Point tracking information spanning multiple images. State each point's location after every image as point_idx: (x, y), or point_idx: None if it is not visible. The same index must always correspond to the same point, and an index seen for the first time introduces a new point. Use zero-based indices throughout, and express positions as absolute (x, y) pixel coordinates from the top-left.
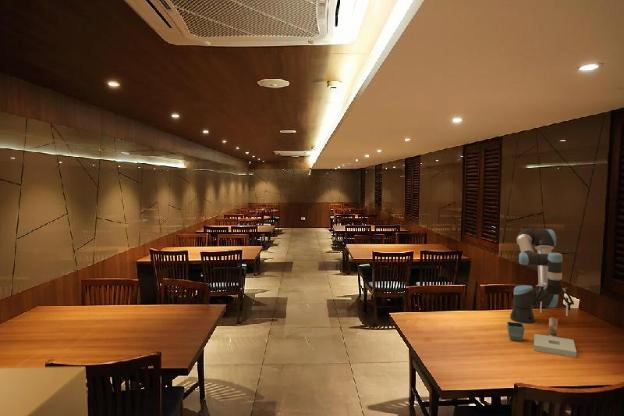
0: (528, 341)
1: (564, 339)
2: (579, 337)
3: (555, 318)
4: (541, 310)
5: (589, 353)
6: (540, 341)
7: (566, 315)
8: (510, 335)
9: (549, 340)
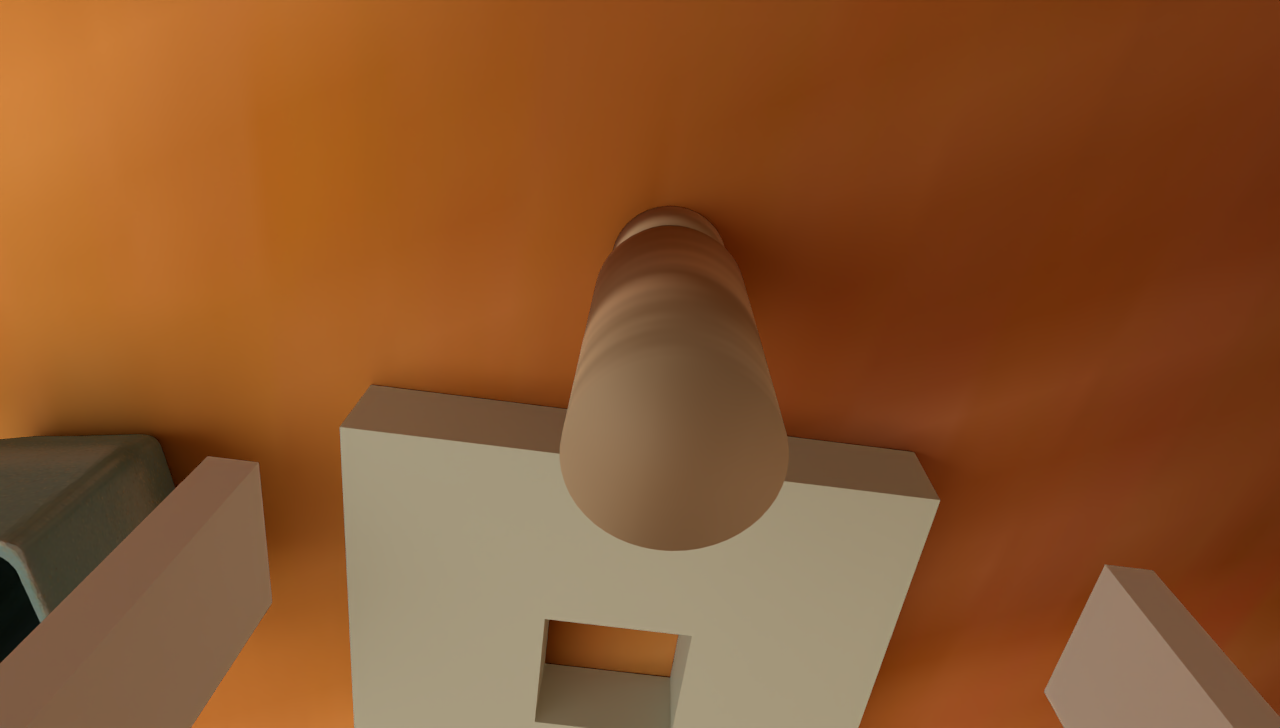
0: (301, 517)
1: (793, 535)
2: (1210, 22)
3: (743, 412)
4: (222, 674)
5: (1003, 673)
6: (433, 698)
7: (1057, 710)
8: (17, 621)
9: (560, 614)
